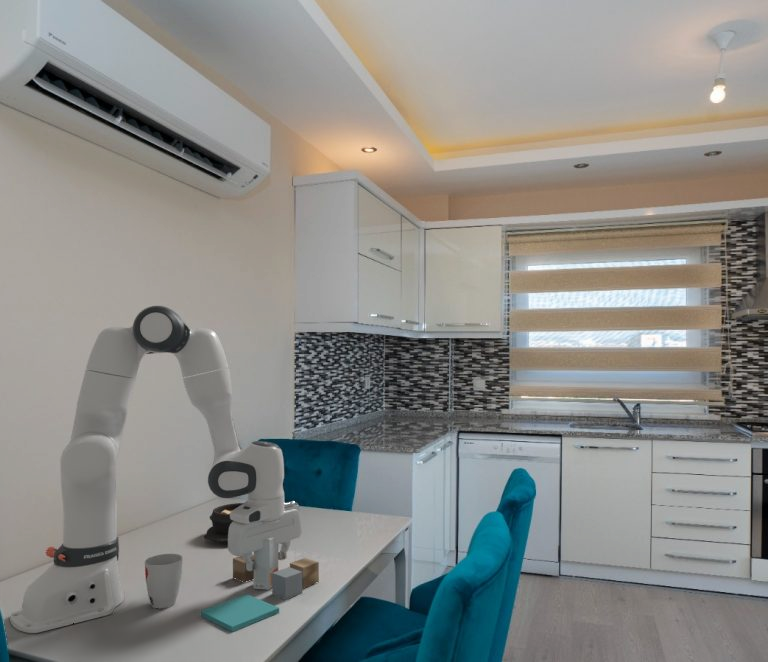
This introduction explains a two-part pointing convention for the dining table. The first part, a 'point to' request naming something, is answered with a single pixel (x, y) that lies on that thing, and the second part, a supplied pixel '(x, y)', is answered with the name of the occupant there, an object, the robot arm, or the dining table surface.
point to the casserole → (220, 523)
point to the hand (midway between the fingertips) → (266, 564)
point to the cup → (163, 579)
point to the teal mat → (239, 612)
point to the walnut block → (242, 569)
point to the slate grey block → (287, 583)
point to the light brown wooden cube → (307, 571)
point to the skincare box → (265, 564)
